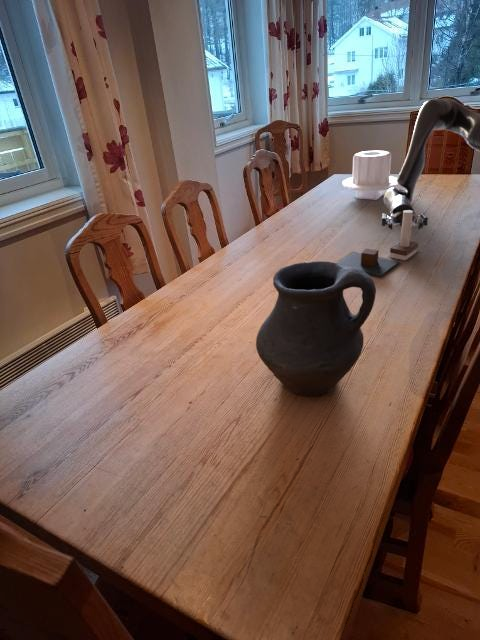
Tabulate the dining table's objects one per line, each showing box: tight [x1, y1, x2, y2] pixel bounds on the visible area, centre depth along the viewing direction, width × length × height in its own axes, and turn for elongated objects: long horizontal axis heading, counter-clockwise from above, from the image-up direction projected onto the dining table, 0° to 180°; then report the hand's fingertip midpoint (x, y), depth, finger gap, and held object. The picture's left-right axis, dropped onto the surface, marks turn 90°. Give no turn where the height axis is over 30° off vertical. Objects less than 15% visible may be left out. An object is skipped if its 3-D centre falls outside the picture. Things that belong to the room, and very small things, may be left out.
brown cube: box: [360, 248, 380, 267], centre depth 132 cm, size 4×4×4 cm
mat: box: [335, 251, 400, 278], centre depth 134 cm, size 16×12×1 cm
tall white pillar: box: [389, 210, 419, 261], centre depth 135 cm, size 8×5×14 cm, turn 136°
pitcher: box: [255, 260, 377, 397], centre depth 81 cm, size 21×22×25 cm
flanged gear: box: [342, 150, 400, 201], centre depth 196 cm, size 25×25×19 cm
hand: (405, 226), depth 136 cm, fingers open, 8 cm apart
